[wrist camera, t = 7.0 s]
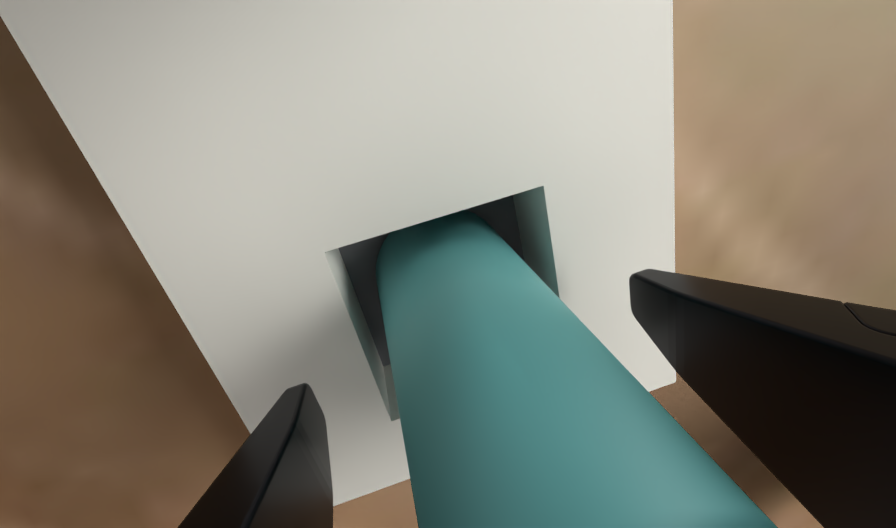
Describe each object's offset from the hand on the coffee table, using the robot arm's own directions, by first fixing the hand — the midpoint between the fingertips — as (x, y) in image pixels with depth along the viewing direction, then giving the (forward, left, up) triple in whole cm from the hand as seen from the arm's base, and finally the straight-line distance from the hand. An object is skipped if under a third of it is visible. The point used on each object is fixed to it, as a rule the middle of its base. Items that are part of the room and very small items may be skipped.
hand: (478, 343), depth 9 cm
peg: (0, 0, -4) cm, 4 cm away
